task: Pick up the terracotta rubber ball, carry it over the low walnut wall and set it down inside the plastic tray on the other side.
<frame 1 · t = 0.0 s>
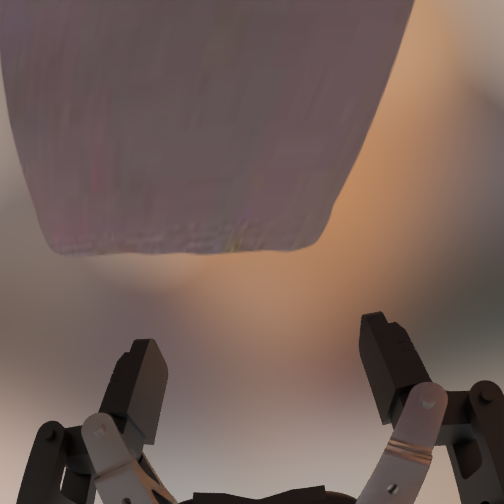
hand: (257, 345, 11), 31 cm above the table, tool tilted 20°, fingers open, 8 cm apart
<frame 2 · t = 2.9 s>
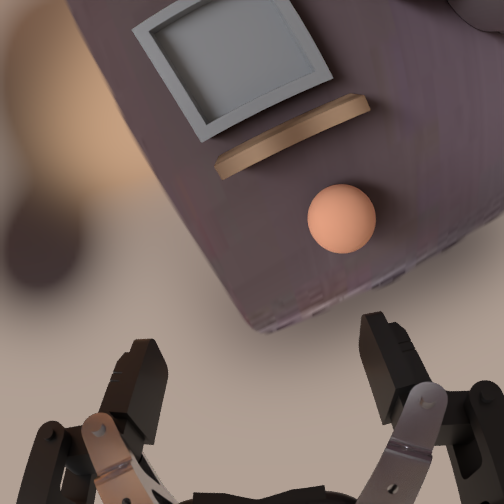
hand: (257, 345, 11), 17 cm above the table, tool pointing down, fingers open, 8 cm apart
ball: (341, 218, 24), point 3 cm above the table
wall: (287, 128, 23), on the table
tray: (232, 49, 20), on the table
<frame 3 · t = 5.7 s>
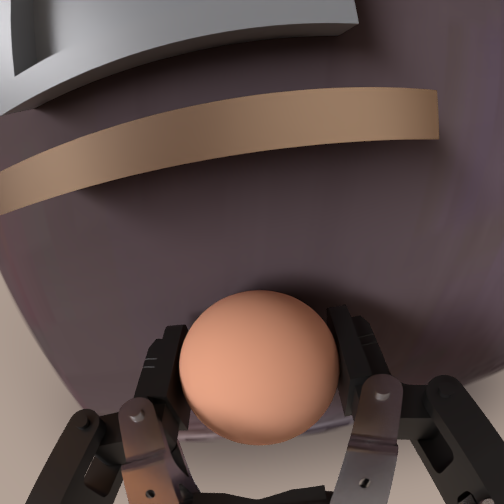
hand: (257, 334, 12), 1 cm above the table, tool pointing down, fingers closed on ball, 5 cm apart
ball: (259, 368, 10), point 3 cm above the table, touching gripper
wall: (199, 123, 9), on the table
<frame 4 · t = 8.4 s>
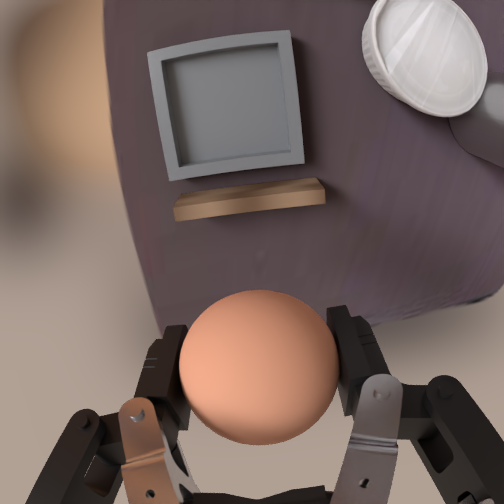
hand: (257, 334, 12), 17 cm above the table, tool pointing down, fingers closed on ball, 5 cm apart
ball: (259, 368, 10), point 19 cm above the table, touching gripper
wall: (248, 191, 27), on the table
ramekin: (406, 53, 21), on the table, touching arm
tray: (227, 103, 23), on the table
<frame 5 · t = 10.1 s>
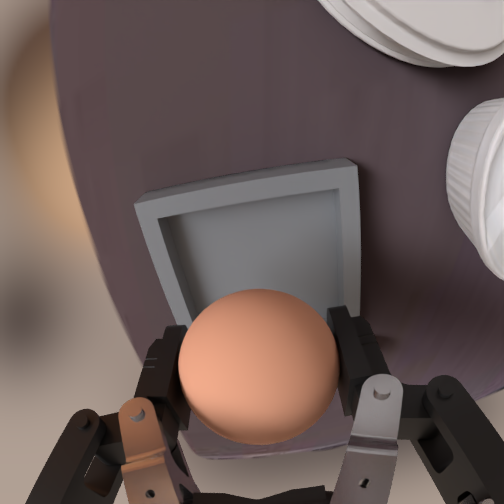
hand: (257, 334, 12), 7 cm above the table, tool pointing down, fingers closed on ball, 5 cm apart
ball: (259, 367, 10), point 9 cm above the table, touching gripper
ramekin: (491, 168, 15), on the table, touching arm
tray: (260, 262, 18), on the table
when the fingers open (3 cm above the table, at t = 11.5 s): ball drops 1 cm, resting on tray.
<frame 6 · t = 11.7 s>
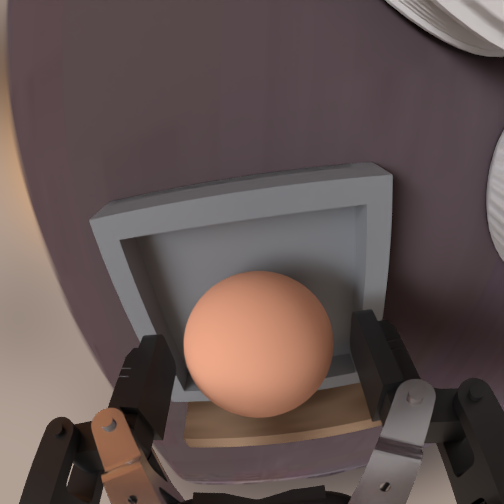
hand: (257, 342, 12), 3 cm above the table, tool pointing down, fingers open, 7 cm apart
ball: (258, 344, 11), point 3 cm above the table, touching tray
wall: (284, 391, 18), on the table
tray: (256, 293, 14), on the table
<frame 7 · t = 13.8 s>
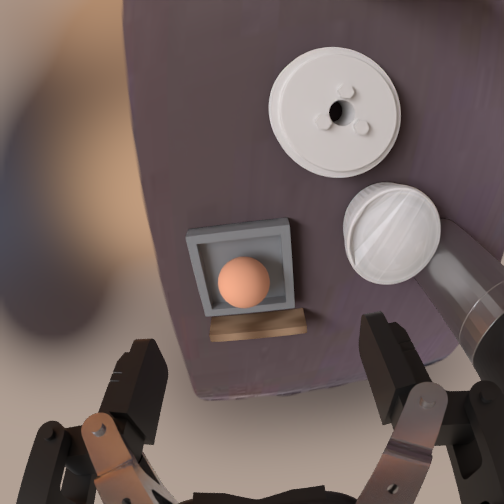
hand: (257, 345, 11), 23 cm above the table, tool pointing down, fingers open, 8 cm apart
ball: (243, 282, 34), point 3 cm above the table, touching tray
lid: (329, 110, 29), on the table
wall: (257, 316, 40), on the table
ramekin: (379, 219, 34), on the table, touching arm
tray: (243, 265, 37), on the table
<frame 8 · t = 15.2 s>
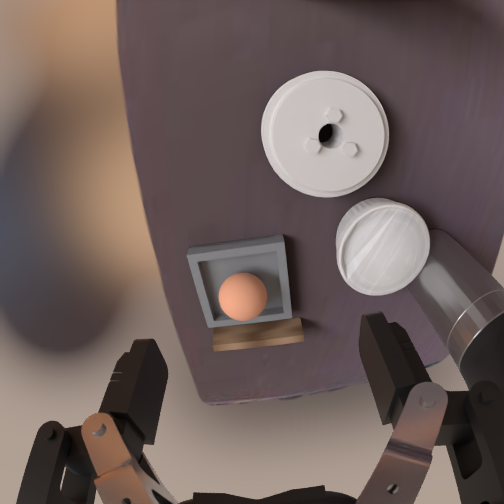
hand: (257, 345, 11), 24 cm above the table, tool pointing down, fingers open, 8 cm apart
ball: (242, 296, 36), point 3 cm above the table, touching tray
lid: (320, 130, 31), on the table
wall: (257, 326, 42), on the table
ramekin: (371, 232, 36), on the table, touching arm
tray: (242, 279, 39), on the table
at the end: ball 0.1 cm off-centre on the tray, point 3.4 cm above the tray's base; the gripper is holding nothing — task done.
